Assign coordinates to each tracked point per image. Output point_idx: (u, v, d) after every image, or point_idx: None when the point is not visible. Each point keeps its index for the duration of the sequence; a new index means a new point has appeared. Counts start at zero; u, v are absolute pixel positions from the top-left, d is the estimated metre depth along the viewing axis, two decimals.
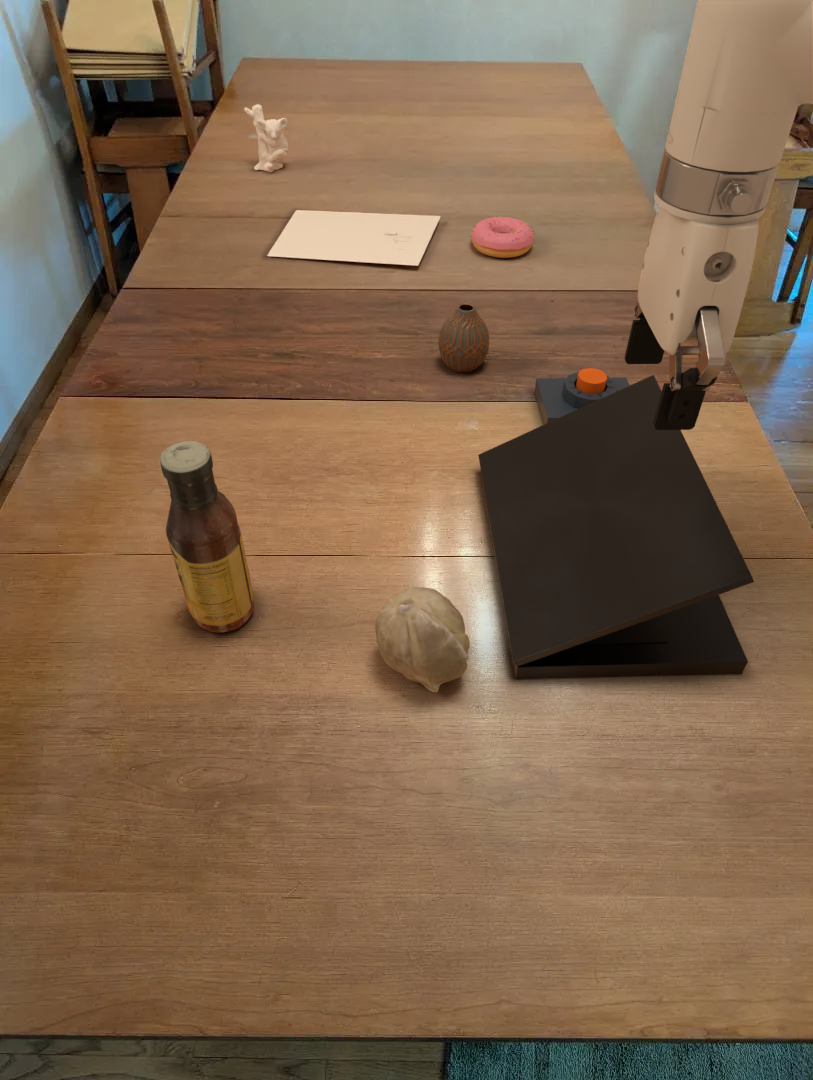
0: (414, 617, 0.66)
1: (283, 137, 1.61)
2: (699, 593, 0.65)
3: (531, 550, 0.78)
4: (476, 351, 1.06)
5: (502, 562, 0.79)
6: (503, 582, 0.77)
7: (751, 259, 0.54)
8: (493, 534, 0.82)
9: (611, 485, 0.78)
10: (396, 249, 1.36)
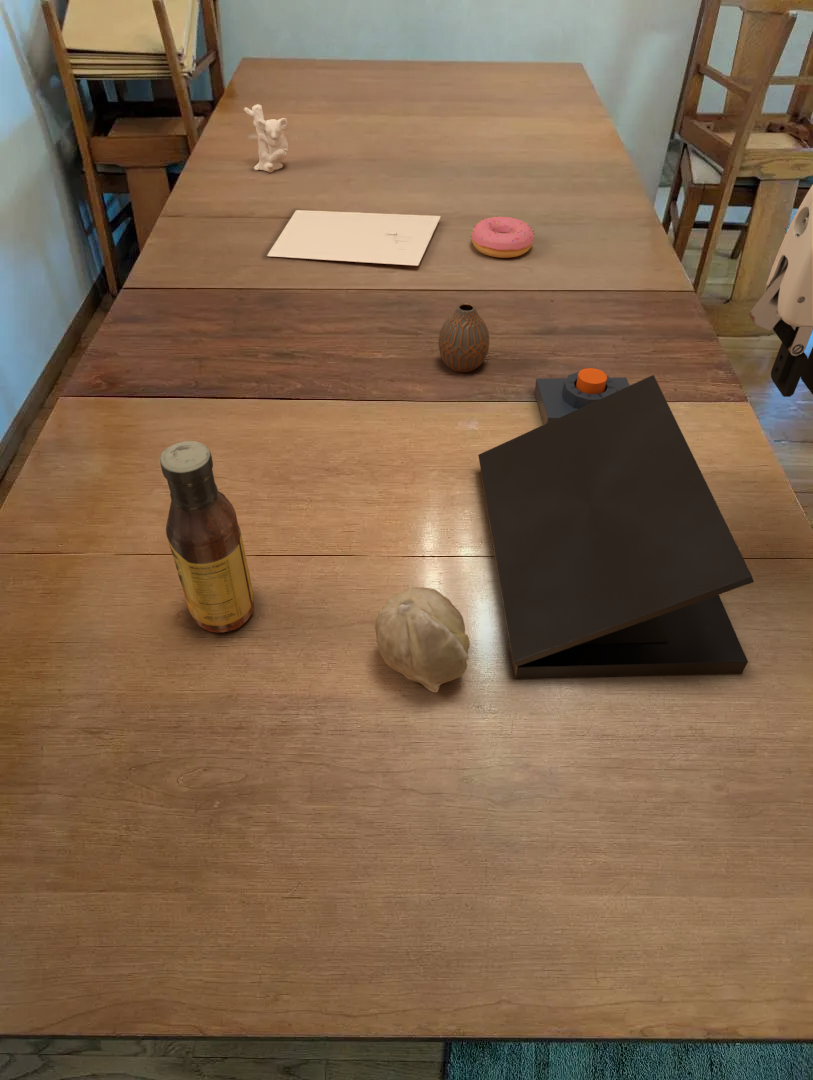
0: (414, 617, 0.66)
1: (283, 137, 1.61)
2: (699, 593, 0.65)
3: (531, 550, 0.78)
4: (476, 351, 1.06)
5: (502, 562, 0.79)
6: (503, 582, 0.77)
7: None
8: (493, 534, 0.82)
9: (611, 485, 0.78)
10: (396, 249, 1.36)
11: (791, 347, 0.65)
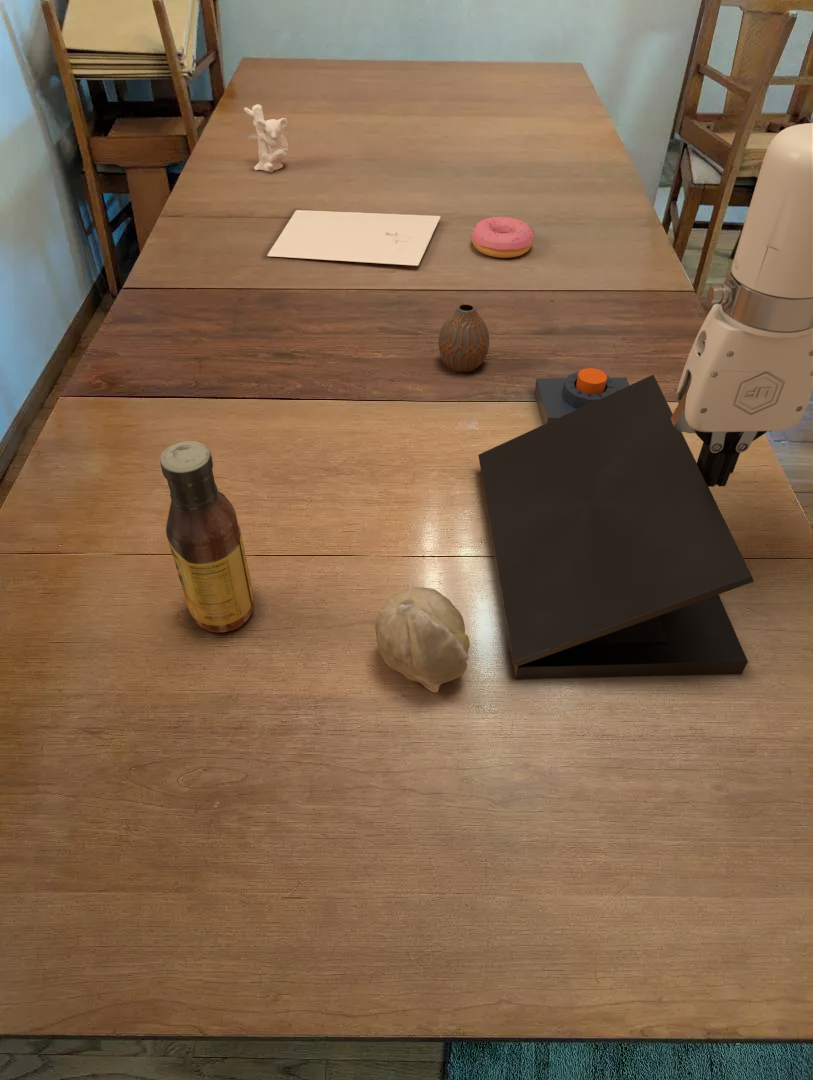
0: (414, 617, 0.66)
1: (283, 137, 1.61)
2: (699, 593, 0.65)
3: (531, 550, 0.78)
4: (476, 351, 1.06)
5: (502, 562, 0.79)
6: (503, 582, 0.77)
7: (714, 352, 0.64)
8: (493, 534, 0.82)
9: (611, 485, 0.78)
10: (396, 249, 1.36)
11: (710, 446, 0.72)
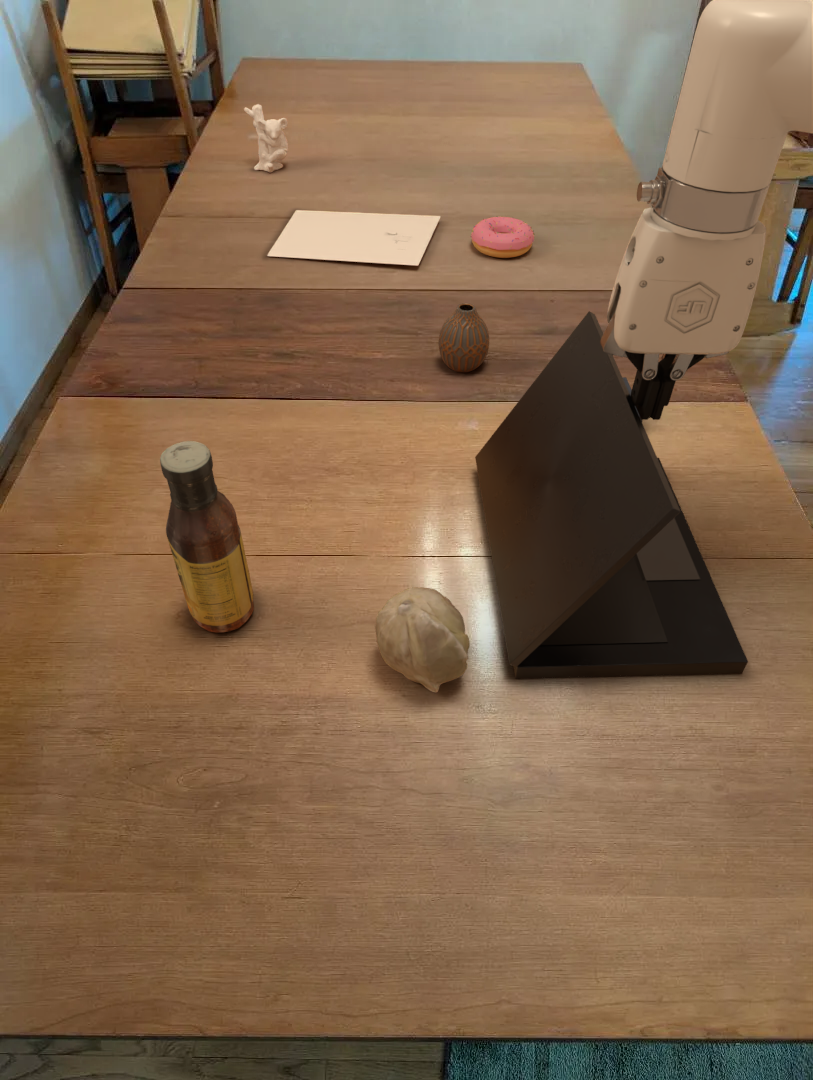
0: (414, 617, 0.66)
1: (283, 137, 1.61)
2: (633, 543, 0.61)
3: (514, 543, 0.77)
4: (476, 351, 1.06)
5: (496, 563, 0.79)
6: (498, 583, 0.77)
7: (643, 258, 0.58)
8: (489, 536, 0.82)
9: (565, 449, 0.75)
10: (396, 249, 1.36)
11: (642, 372, 0.66)
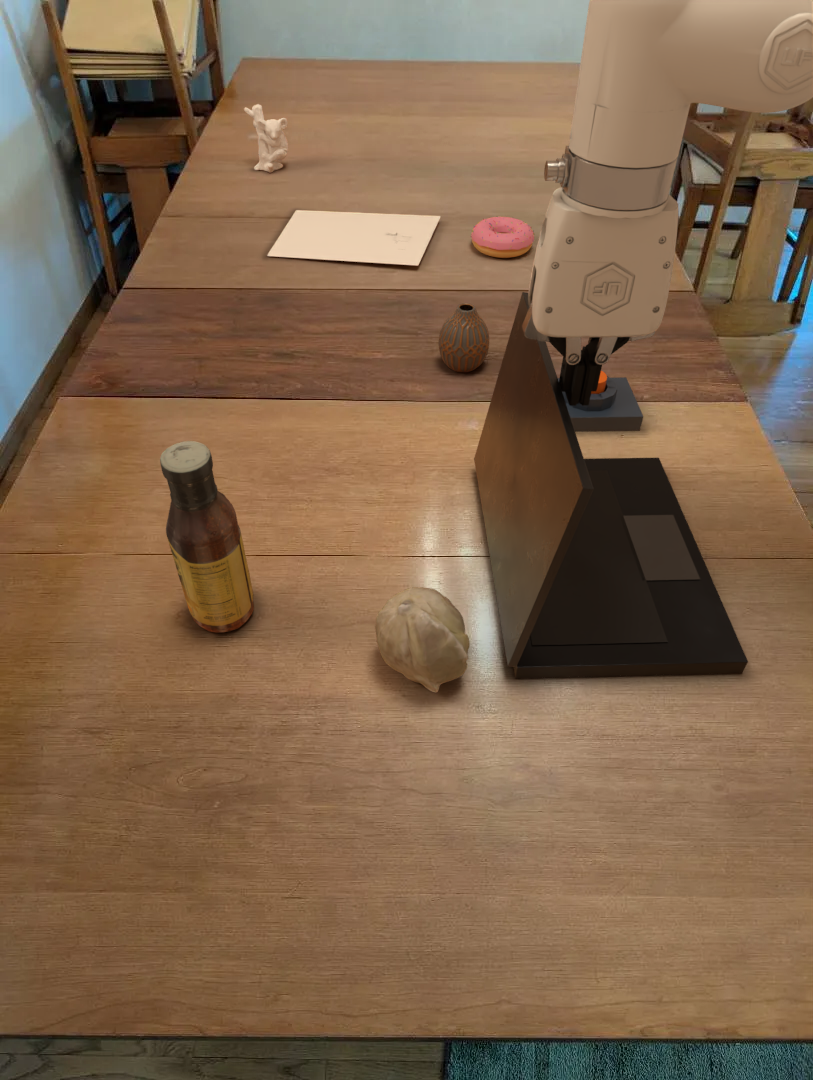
0: (414, 617, 0.66)
1: (283, 137, 1.61)
2: (564, 529, 0.59)
3: (501, 542, 0.77)
4: (476, 351, 1.06)
5: (493, 564, 0.79)
6: (495, 585, 0.77)
7: (553, 239, 0.57)
8: (487, 538, 0.82)
9: (520, 439, 0.74)
10: (396, 249, 1.36)
11: (566, 357, 0.65)
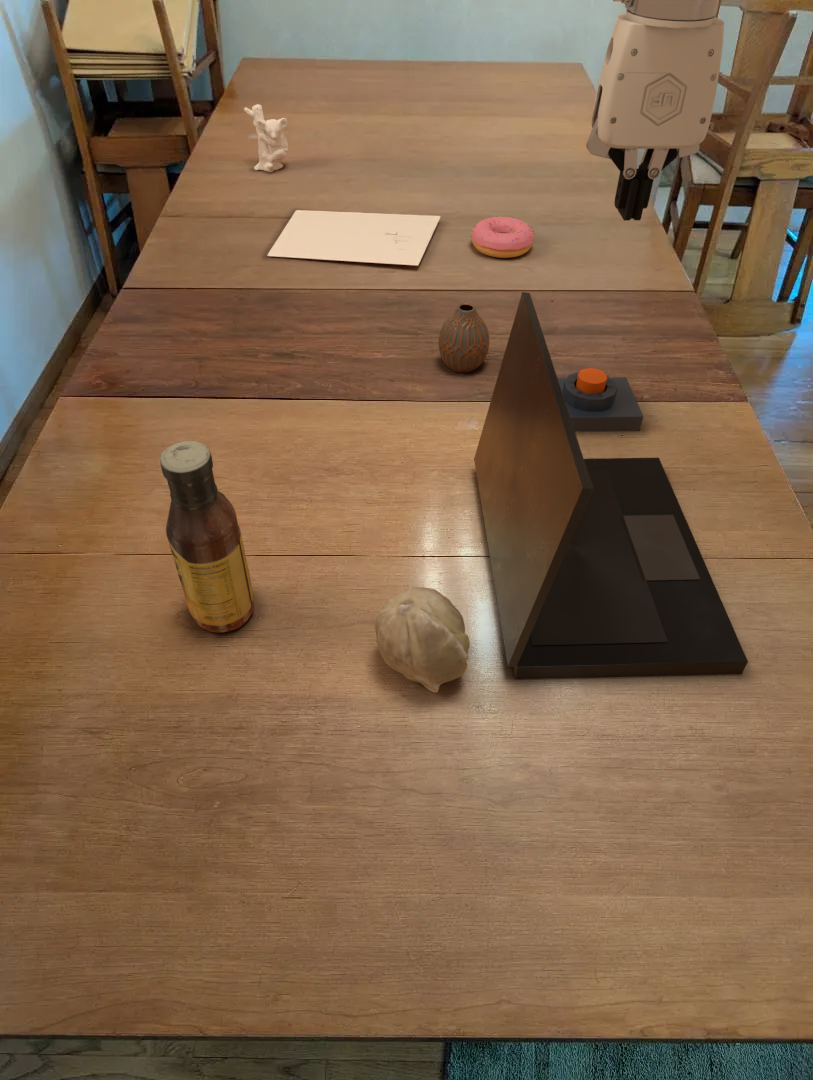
0: (414, 617, 0.66)
1: (283, 137, 1.61)
2: (564, 529, 0.59)
3: (501, 542, 0.77)
4: (476, 351, 1.06)
5: (493, 564, 0.79)
6: (495, 585, 0.77)
7: (619, 52, 0.68)
8: (487, 538, 0.82)
9: (520, 439, 0.74)
10: (396, 249, 1.36)
11: (624, 172, 0.76)
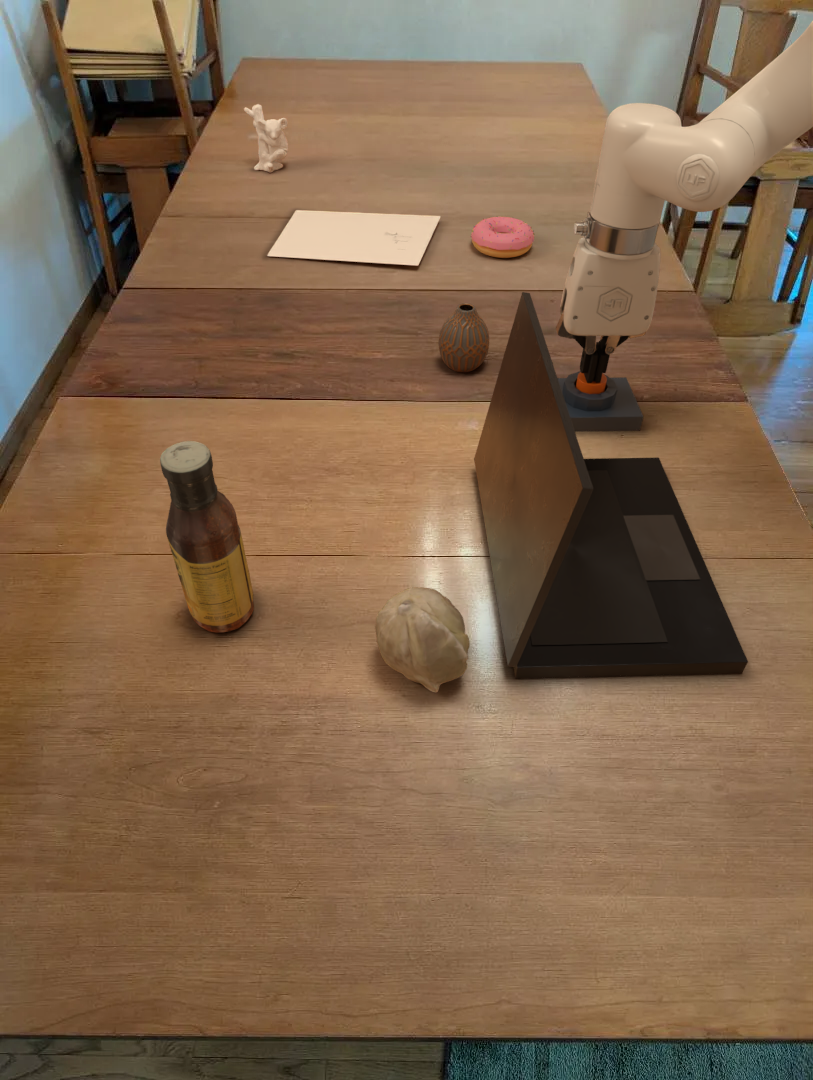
0: (414, 617, 0.66)
1: (283, 137, 1.61)
2: (564, 529, 0.59)
3: (501, 542, 0.77)
4: (476, 351, 1.06)
5: (493, 564, 0.79)
6: (495, 585, 0.77)
7: (579, 271, 0.87)
8: (487, 538, 0.82)
9: (520, 439, 0.74)
10: (396, 249, 1.36)
11: (585, 349, 0.95)
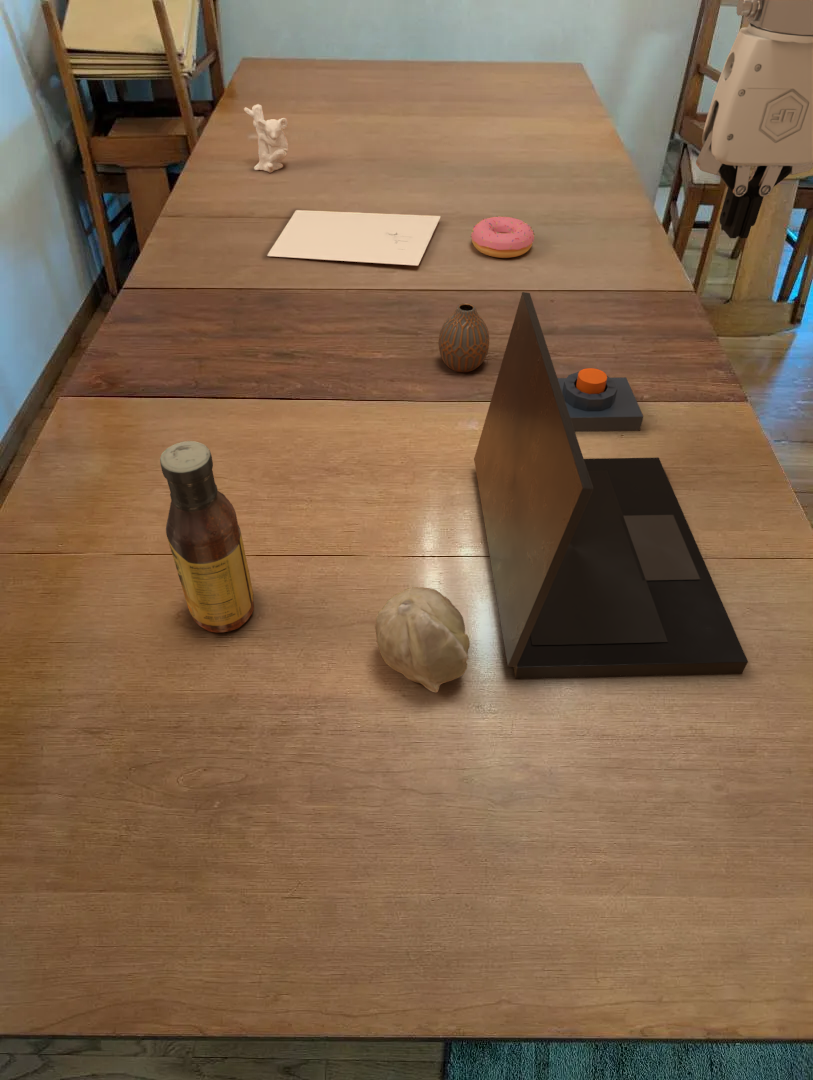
0: (414, 617, 0.66)
1: (283, 137, 1.61)
2: (564, 529, 0.59)
3: (501, 542, 0.77)
4: (476, 351, 1.06)
5: (493, 564, 0.79)
6: (495, 585, 0.77)
7: (742, 67, 0.66)
8: (487, 538, 0.82)
9: (520, 439, 0.74)
10: (396, 249, 1.36)
11: (734, 189, 0.74)
